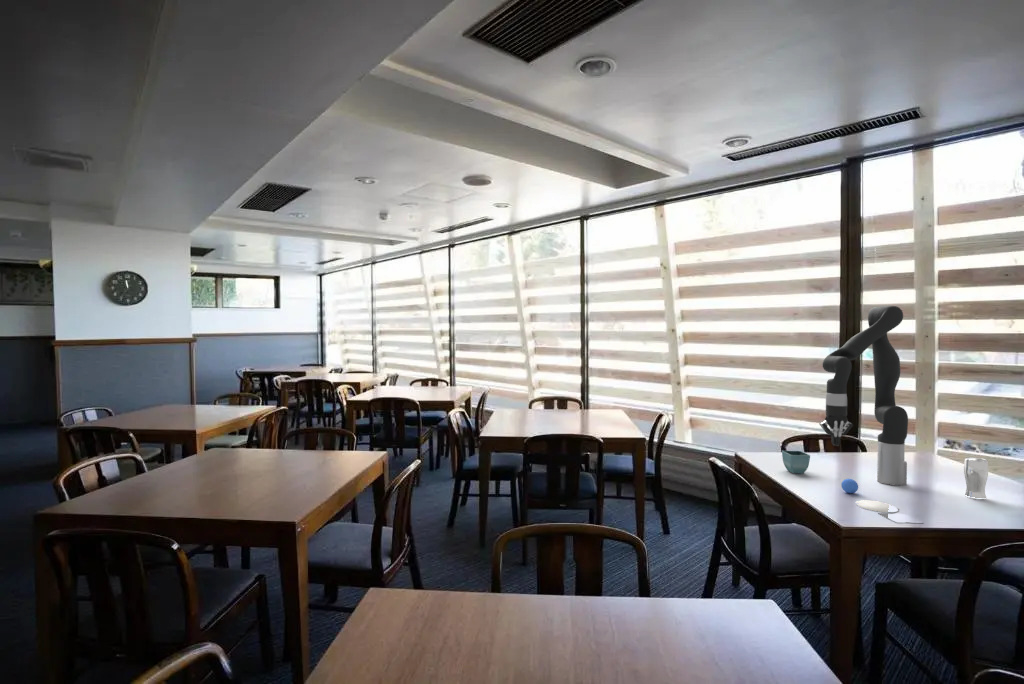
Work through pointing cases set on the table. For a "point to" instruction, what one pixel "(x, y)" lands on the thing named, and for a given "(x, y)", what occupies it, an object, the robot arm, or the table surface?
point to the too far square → (884, 514)
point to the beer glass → (975, 476)
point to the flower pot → (796, 461)
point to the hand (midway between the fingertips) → (835, 445)
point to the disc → (873, 505)
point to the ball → (849, 485)
